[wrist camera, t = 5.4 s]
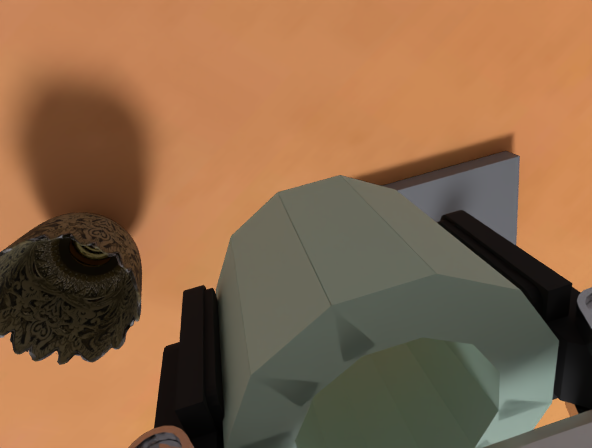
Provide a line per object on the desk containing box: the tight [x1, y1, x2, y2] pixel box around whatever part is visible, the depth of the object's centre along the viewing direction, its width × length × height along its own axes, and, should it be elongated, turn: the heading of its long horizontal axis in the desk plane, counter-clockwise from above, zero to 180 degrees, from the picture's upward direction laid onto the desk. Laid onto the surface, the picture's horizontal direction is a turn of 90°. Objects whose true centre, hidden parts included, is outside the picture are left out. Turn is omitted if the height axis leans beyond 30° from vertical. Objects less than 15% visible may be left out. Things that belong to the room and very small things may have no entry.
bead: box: [216, 175, 559, 448], centre depth 10 cm, size 6×6×5 cm
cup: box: [0, 213, 142, 365], centre depth 24 cm, size 8×7×8 cm
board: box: [383, 151, 520, 245], centre depth 33 cm, size 16×16×2 cm
